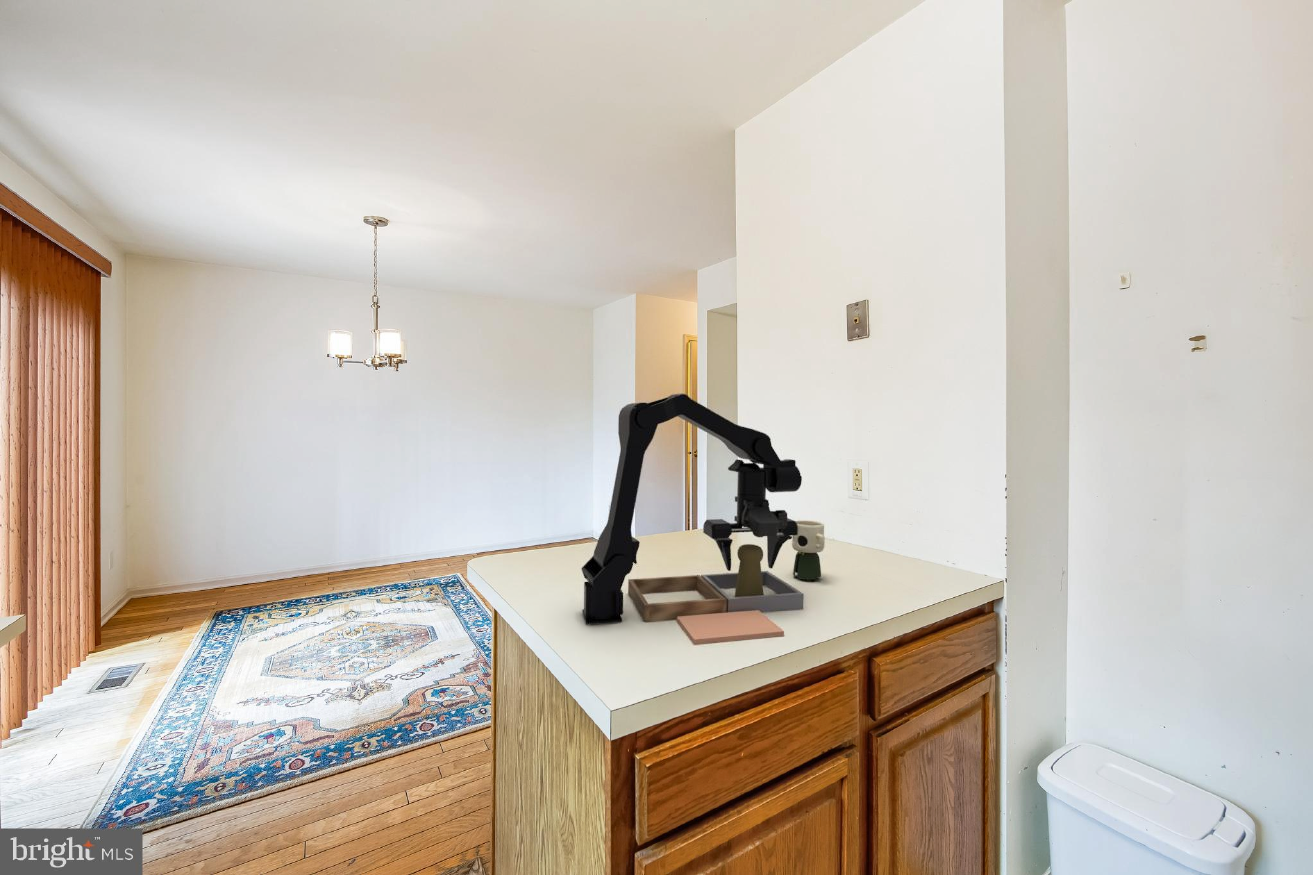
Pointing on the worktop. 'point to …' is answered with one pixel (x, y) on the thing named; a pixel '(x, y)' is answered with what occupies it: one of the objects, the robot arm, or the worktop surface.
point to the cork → (749, 571)
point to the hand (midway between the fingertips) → (749, 569)
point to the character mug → (808, 549)
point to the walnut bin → (675, 609)
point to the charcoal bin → (764, 603)
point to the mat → (728, 626)
